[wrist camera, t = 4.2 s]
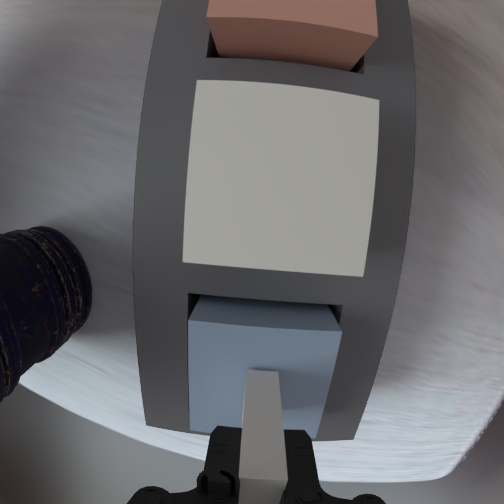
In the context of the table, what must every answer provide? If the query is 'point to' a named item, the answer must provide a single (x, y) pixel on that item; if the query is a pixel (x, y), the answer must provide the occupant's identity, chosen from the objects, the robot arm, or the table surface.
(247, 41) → the terracotta key
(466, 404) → the table surface
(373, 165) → the white key
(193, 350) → the slate blue key
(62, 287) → the storage jar
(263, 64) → the keypad housing
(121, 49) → the table surface
